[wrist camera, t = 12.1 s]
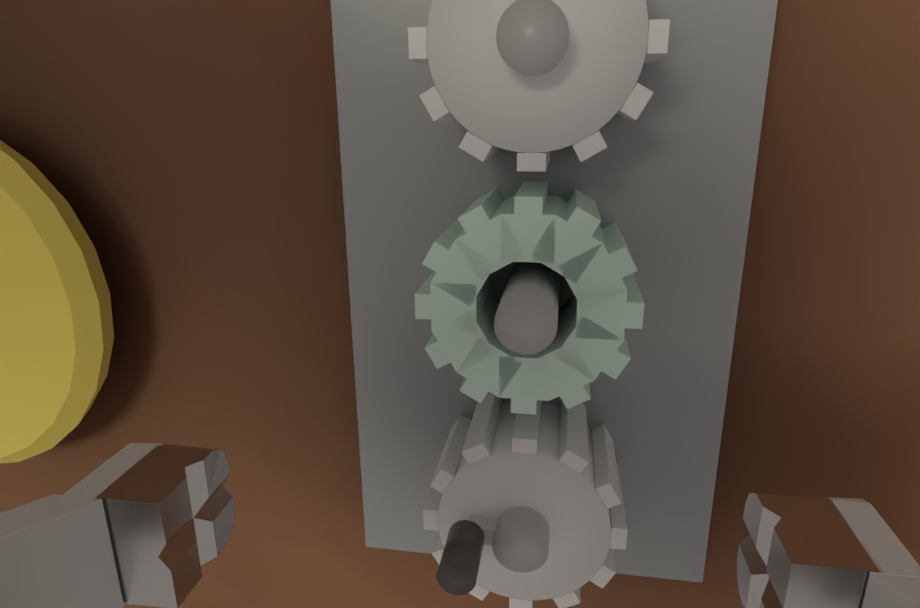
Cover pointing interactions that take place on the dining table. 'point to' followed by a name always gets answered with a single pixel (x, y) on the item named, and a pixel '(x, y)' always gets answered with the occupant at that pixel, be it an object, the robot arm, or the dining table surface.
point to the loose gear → (580, 320)
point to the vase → (46, 313)
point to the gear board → (631, 188)
